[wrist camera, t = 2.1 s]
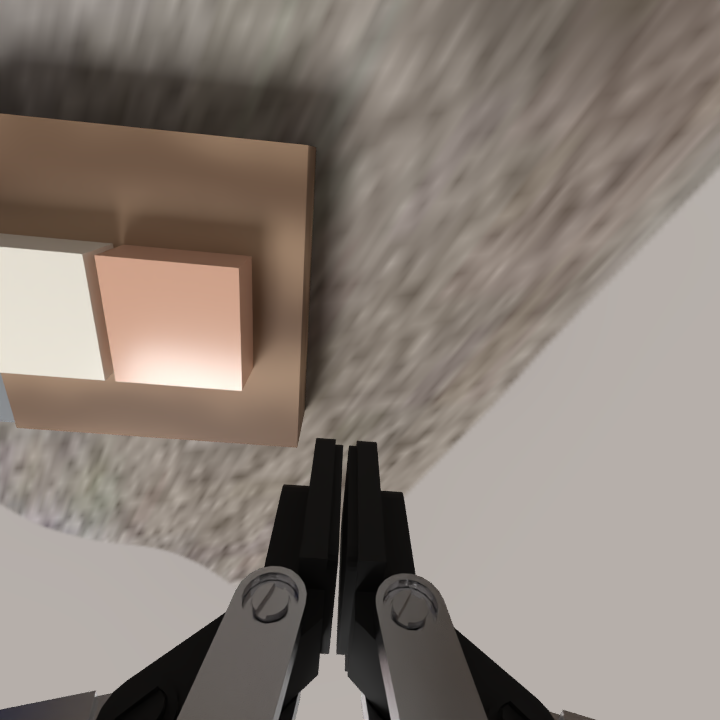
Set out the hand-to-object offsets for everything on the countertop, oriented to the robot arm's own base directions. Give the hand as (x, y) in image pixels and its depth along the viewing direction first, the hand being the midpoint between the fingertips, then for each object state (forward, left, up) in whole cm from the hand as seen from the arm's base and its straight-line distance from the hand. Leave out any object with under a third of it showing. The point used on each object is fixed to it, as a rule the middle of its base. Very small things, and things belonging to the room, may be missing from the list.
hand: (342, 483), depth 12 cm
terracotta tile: (-1, -8, -11) cm, 14 cm away
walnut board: (-1, -10, -15) cm, 19 cm away
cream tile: (-1, -14, -11) cm, 18 cm away
